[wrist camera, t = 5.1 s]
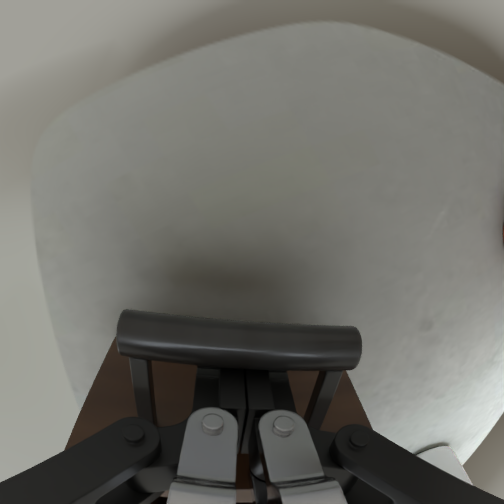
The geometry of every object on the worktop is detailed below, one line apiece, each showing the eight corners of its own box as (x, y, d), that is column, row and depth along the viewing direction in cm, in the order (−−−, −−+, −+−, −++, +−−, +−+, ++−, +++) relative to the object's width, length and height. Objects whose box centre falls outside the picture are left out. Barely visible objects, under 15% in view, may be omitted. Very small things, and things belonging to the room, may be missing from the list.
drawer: (108, 244, 13) (10, 349, 6) (362, 268, 14) (458, 375, 7) (144, 480, 20) (133, 558, 12) (283, 488, 21) (295, 565, 14)
